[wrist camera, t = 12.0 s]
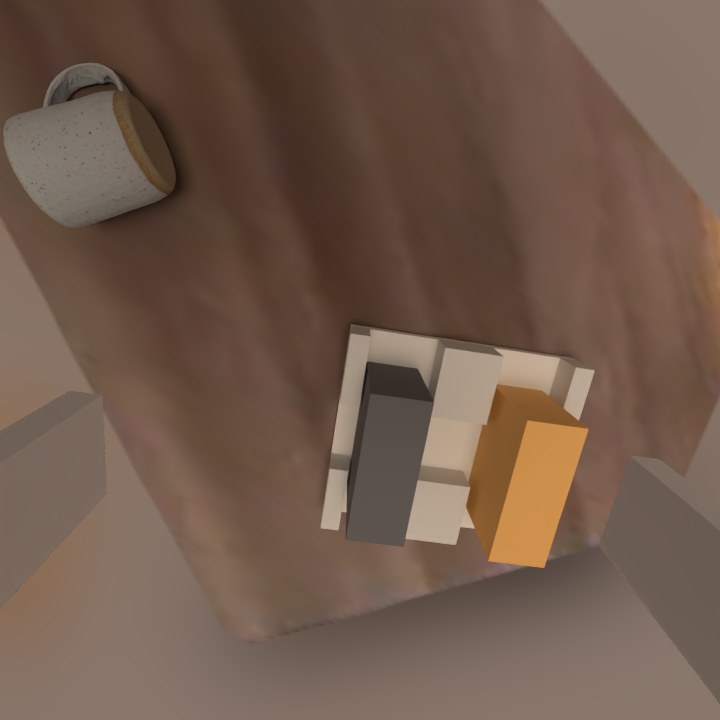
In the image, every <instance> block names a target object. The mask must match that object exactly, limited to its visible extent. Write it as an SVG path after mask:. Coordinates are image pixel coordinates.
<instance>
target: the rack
mask: <svg viewBox="0 0 720 720" xmlns="http://www.w3.org/2000/svg"><path fill="white" fill-rule="evenodd" d="M367 361H368V362H375V363H382V364H389V365H396V366H403V367H410V368H417V369H418V370H419V372H420V374H421V376H422V378H423V380H424V382H425V384H426V386H427V388H428V390H429V393H430V395H431V397H432V399H433V401H434V406H433V411H432V415H431V420H430V425H429V429H428V434H427V439H426V444H425V448H424V453H423V458H422V462H421V467H420V472H419V477H418V481H417V486H416V491H415V495H414V500H413V505H412V509H411V514H410V519H409V524H408V528H407V533H406V538H405V539H413V540H421V541H429V542H437V543H445V544H453V545H456V542H457V538H458V534H459V530H460V527H467V528H474V525H473V523H472V520H471V518H470V515H469V513H468V511H467V508H466V503H467V499H468V495H469V491H470V485H469V483H468V481H469V477H470V473H471V469H472V465H473V461H474V457H475V453H476V449H477V445H478V441H479V437H480V433H481V429H482V425H483V424H484V425H487V421H488V417H489V413H490V409H491V405H492V401H493V397H494V393H495V389H496V386H497V384H499V385H506V386H513V387H520V388H527V389H534V390H541V391H543V392H544V393H546V394H547V395H548V396H549V397H550V398H552V399H553V400H554V401H555V402H557V403H558V404H559V405H560V406H561V407H563V408H564V409H565V410H566V411H567V412H569V413H570V414H571V415H572V416H574V417H575V418H576V419H577V420H578V421H579V419H580V416H581V412H582V409H583V406H584V403H585V400H586V397H587V393H588V390H589V387H590V384H591V381H592V378H593V375H594V371H595V370H594V369H592V368H590V367H588V366H586V365H585V364H583V363H581V362H579V361H577V360H576V359H574V358H571V357H565V356H558V355H552V354H545V353H539V352H532V351H525V350H519V349H512V348H506V347H499V346H492V345H486V344H479V343H473V342H466V341H459V340H453V339H446V338H440V337H433V336H427V335H420V334H413V333H407V332H400V331H394V330H387V329H380V328H374V327H367V326H361V325H354V324H351V327H350V333H349V340H348V346H347V353H346V359H345V366H344V372H343V379H342V385H341V392H340V398H339V405H338V411H337V418H336V424H335V431H334V437H333V444H332V450H331V457H330V463H329V470H328V476H327V483H326V489H325V496H324V502H323V511H322V520H321V528H324V529H333V530H338V529H339V523H340V517H341V512H346V507H347V480H348V474H349V468H350V462H351V456H352V450H353V444H354V438H355V431H356V425H357V419H358V413H359V407H360V401H361V395H362V389H363V383H364V376H365V370H366V364H367ZM474 529H475V528H474Z"/></svg>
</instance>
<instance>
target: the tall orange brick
mask: <svg viewBox="0 0 720 720" xmlns="http://www.w3.org/2000/svg"><path fill="white" fill-rule="evenodd" d="M587 433H588V428H587V427H586V426H584V425H583V424H582V423H581V422H580V421H578V420H577V419H576V418H575V417H574V416H572V415H571V414H570V413H569V412H567V411H566V410H565V409H564V408H563V407H561V406H560V405H559V404H558V403H557V402H555V401H554V400H553V399H552V398H550V397H549V396H548V395H547V394H546V393H544V392H543V391H541V390H534V389H527V388H520V387H513V386H506V385H499V384H497V386H496V389H495V393H494V397H493V401H492V405H491V409H490V413H489V417H488V421H487V425H484V424H483V425H482V429H481V433H480V437H479V441H478V445H477V449H476V453H475V457H474V461H473V465H472V469H471V473H470V477H469V481H468V483H469V485H470V491H469V495H468V499H467V503H466V508H467V511H468V513H469V515H470V518H471V520H472V523H473V525H474V528H475V530H476V532H477V535H478V537H479V540H480V542H481V544H482V547H483V549H484V552H485V554H486V557H487V559H488V561H492V562H500V563H509V564H517V565H525V566H534V567H542V568H544V566H545V563H546V560H547V557H548V554H549V551H550V548H551V545H552V541H553V538H554V535H555V532H556V529H557V526H558V523H559V520H560V517H561V513H562V510H563V507H564V504H565V501H566V498H567V495H568V492H569V489H570V485H571V482H572V479H573V476H574V473H575V470H576V467H577V464H578V461H579V457H580V454H581V451H582V448H583V445H584V442H585V439H586V436H587Z"/></svg>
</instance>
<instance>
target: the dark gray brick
mask: <svg viewBox="0 0 720 720" xmlns="http://www.w3.org/2000/svg"><path fill="white" fill-rule="evenodd" d="M433 406H434V401H433V399H432V397H431V395H430V393H429V390H428V388H427V386H426V384H425V382H424V380H423V378H422V376H421V374H420V372H419V370H418V369H417V368H410V367H403V366H396V365H389V364H382V363H375V362H368V361H367V364H366V370H365V376H364V383H363V389H362V395H361V401H360V407H359V413H358V419H357V425H356V431H355V438H354V444H353V450H352V456H351V462H350V468H349V474H348V480H347V507H346V540H352V541H360V542H368V543H377V544H385V545H393V546H402V547H404V542H405V538H406V533H407V528H408V524H409V519H410V514H411V509H412V505H413V500H414V495H415V491H416V486H417V481H418V477H419V472H420V467H421V462H422V458H423V453H424V448H425V444H426V439H427V434H428V429H429V425H430V420H431V415H432V411H433Z"/></svg>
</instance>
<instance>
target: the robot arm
mask: <svg viewBox="0 0 720 720" xmlns="http://www.w3.org/2000/svg"><path fill="white" fill-rule="evenodd" d="M105 468H106V467H105V445H104V422H103V397H102V395H100V394H91V393H83V392H74V391H69V392H67V393H65V394H64V395H62V396H60V397H58V398H57V399H55V400H53V401H51V402H50V403H48V404H46V405H45V406H43V407H41V408H39V409H38V410H36V411H34V412H33V413H31V414H29V415H27V416H26V417H24V418H22V419H21V420H19V421H17V422H16V423H14V424H12V425H10V426H9V427H7V428H5V429H3V430H2V431H0V609H1V608H2V607H3V606H4V605H5V604H6V602H7V601H8V600H9V599H10V598H11V597H12V596H13V595H14V594H15V593H16V592H17V591H18V589H19V588H20V587H21V586H22V585H23V584H24V583H25V582H26V581H27V580H28V579H29V577H30V576H31V575H32V574H33V573H34V572H35V571H36V570H37V569H38V568H39V567H40V566H41V565H42V563H43V562H44V561H45V560H46V559H47V558H48V557H49V556H50V555H51V554H52V553H53V552H54V550H55V549H56V548H57V547H58V546H59V545H60V544H61V543H62V542H63V541H64V540H65V539H66V537H67V536H68V535H69V534H70V533H71V532H72V531H73V530H74V529H75V528H76V527H77V526H78V524H79V523H80V522H81V521H82V520H83V519H84V518H85V517H86V516H87V515H88V514H89V513H90V511H91V510H92V509H93V508H94V507H95V506H96V505H97V504H98V503H99V501H101V499H102V498H103V497H104V496H105V495H106V494H107V491H106V469H105ZM599 546H600V547H601V549H602V550H603V551H604V552H605V554H606V555H607V557H608V558H609V559H610V561H611V562H612V563H613V564H614V566H615V567H616V568H617V570H618V571H619V572H620V574H621V575H622V576H623V578H624V579H625V580H626V581H627V583H628V584H629V585H630V587H631V588H632V589H633V591H634V592H635V593H636V594H637V596H638V597H639V598H640V600H641V601H642V602H643V604H644V605H645V606H646V608H647V609H648V610H649V612H650V613H651V614H652V616H653V617H654V618H655V619H656V621H657V622H658V623H659V625H660V626H661V627H662V629H663V630H664V631H665V633H666V634H667V635H668V637H669V638H670V639H671V640H672V642H673V643H674V644H675V646H676V647H677V648H678V650H679V651H680V652H681V653H682V655H683V656H684V657H685V659H686V660H687V661H688V663H689V664H690V665H691V667H692V668H693V669H694V671H695V672H696V673H697V674H698V676H699V677H700V679H701V680H702V681H703V682H704V684H705V685H706V686H707V688H708V689H709V690H710V692H711V693H712V694H713V696H714V697H715V698H716V699H717V701H718V702H719V703H720V505H718V504H717V503H716V502H714V501H713V500H712V499H711V498H709V497H708V496H707V495H705V494H704V493H703V492H702V491H700V490H699V489H698V488H696V487H695V486H694V485H692V484H691V483H690V482H688V481H687V480H686V479H685V478H683V477H682V476H681V475H679V474H678V473H677V472H675V471H674V470H673V469H672V468H670V467H669V466H668V465H666V464H665V463H664V462H662V461H661V460H660V459H653V458H644V457H636V456H630V459H629V462H628V465H627V468H626V470H625V473H624V476H623V479H622V482H621V485H620V488H619V490H618V493H617V496H616V499H615V502H614V505H613V508H612V510H611V513H610V516H609V519H608V522H607V525H606V527H605V530H604V533H603V536H602V539H601V542H600V545H599Z"/></svg>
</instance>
